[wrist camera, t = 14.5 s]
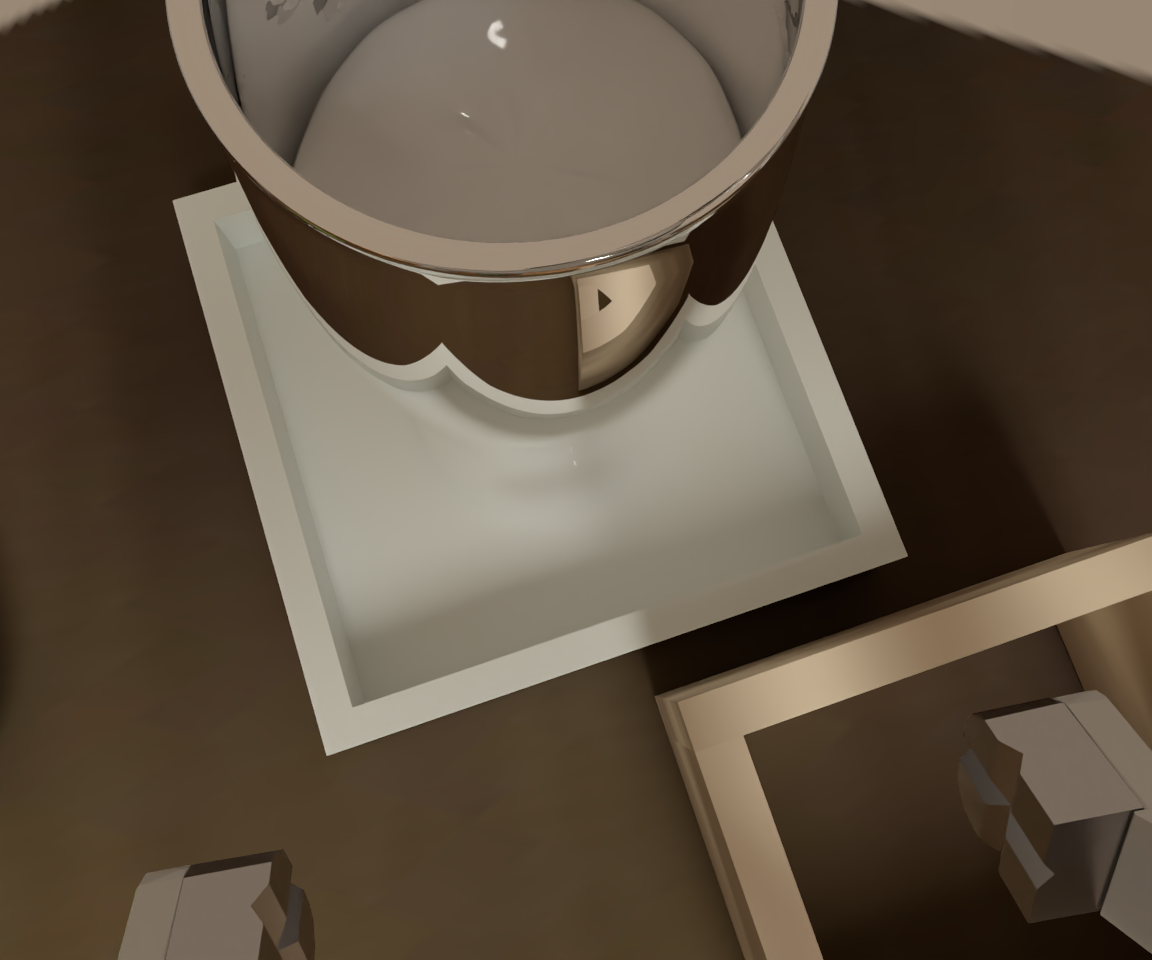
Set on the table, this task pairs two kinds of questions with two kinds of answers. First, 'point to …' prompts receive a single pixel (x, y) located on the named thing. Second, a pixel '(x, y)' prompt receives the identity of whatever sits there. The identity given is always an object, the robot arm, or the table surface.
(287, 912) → the robot arm
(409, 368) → the beer glass
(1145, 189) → the table surface
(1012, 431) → the table surface
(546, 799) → the table surface
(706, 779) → the square frame
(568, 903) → the table surface
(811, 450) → the tray
